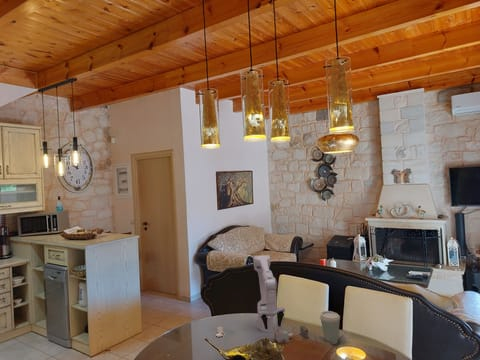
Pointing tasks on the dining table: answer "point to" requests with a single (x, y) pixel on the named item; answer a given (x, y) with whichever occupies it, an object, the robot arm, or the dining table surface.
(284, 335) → the gauge carriage
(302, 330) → the scale board
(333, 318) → the disposable coffee cup
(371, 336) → the dining table surface
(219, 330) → the teacup and saucer
